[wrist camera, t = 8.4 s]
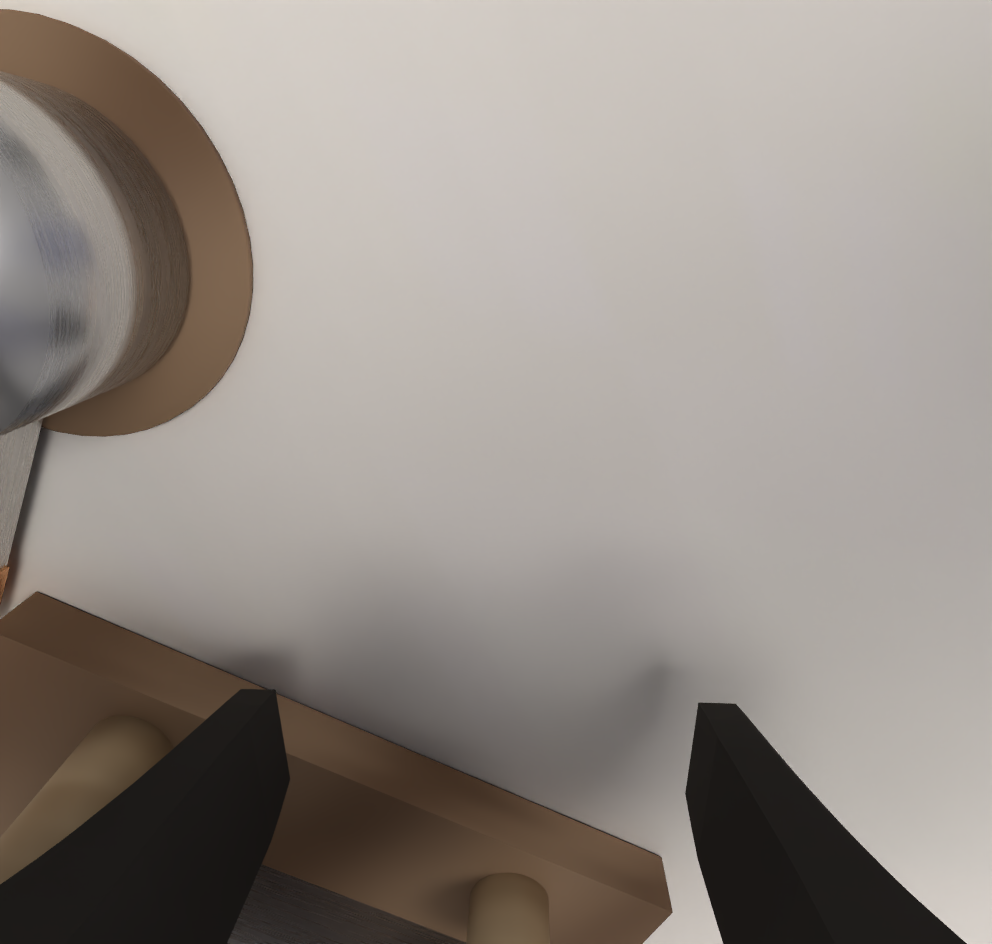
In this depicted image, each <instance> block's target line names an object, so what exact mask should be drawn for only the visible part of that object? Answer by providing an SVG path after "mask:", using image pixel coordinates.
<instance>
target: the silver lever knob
mask: <svg viewBox="0 0 992 944" xmlns="http://www.w3.org/2000/svg"><path fill="white" fill-rule="evenodd" d="M188 283H189V279H188V259H187V252H186V246H185V240H184V236H183V233H182V229H181V226H180V222H179V219H178V216H177V214H176V211H175V209H174V206H173V204H172V201H171V199H170V197H169V195H168V193H167V191H166V189H165V187H164V185H163V184H162V182H161V180H160V178H159V176H158V175H157V173H156V172H155V170H154V169H153V167H152V166H151V165H150V163H149V162H148V160H147V159H146V157H145V156H144V155H143V154H142V153H141V151H140V150H139V149H138V148H137V147H136V145H135V144H134V143H133V142H132V141H131V139H130V138H129V137H128V136H126V135H125V134H124V133H123V132H122V131H121V130H120V129H119V128H118V127H117V126H116V125H115V124H114V123H113V122H112V121H110V120H109V119H108V118H107V117H105V116H104V115H103V114H101V113H100V112H99V111H98V110H96V109H95V108H94V107H92V106H90V105H89V104H87V103H85V102H84V101H82V100H80V99H79V98H77V97H75V96H74V95H72V94H69V93H67V92H65V91H63V90H61V89H58V88H56V87H54V86H51V85H48V84H45V83H41V82H38V81H35V80H32V79H28V78H24V77H21V76H17V75H13V74H9V73H6V72H2V71H0V603H1V599H2V595H3V591H4V587H5V583H6V579H7V575H8V571H9V566H7V563H8V559H9V555H10V551H11V547H12V543H13V539H14V535H15V531H16V527H17V522H18V518H19V514H20V510H21V506H22V502H23V498H24V494H25V490H26V486H27V482H28V478H29V474H30V470H31V466H32V462H33V457H34V453H35V449H36V445H37V441H38V437H39V433H40V429H41V425H42V421H43V418H45V417H47V416H49V415H52V414H54V413H57V412H59V411H61V410H64V409H66V408H69V407H71V406H73V405H76V404H78V403H80V402H83V401H85V400H88V399H90V398H92V397H95V396H97V395H99V394H102V393H104V392H107V391H109V390H111V389H114V388H116V387H118V386H121V385H123V384H126V383H128V382H130V381H132V380H134V379H135V378H137V377H139V376H140V375H142V374H143V373H145V372H146V371H147V370H148V369H150V368H151V367H152V366H153V365H154V364H155V363H156V362H157V361H158V360H159V359H160V358H161V357H162V355H163V354H164V353H165V352H166V351H167V349H168V348H169V346H170V344H171V343H172V341H173V339H174V337H175V336H176V334H177V331H178V329H179V326H180V324H181V321H182V319H183V314H184V310H185V306H186V302H187V293H188Z"/></svg>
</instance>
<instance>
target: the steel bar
mask: <svg viewBox="0 0 992 944" xmlns="http://www.w3.org/2000/svg"><path fill="white" fill-rule="evenodd" d="M227 944H466V942H464V941H461V940H458V939H456V938H453V937H450V936H448V935H445V934H443V933H440V932H437V931H435V930H432V929H430V928H427V927H424V926H422V925H419V924H416V923H414V922H411V921H409V920H406V919H403V918H401V917H398V916H396V915H393V914H390V913H388V912H385V911H382V910H380V909H377V908H375V907H372V906H369V905H367V904H364V903H361V902H359V901H356V900H354V899H351V898H348V897H346V896H343V895H341V894H338V893H335V892H333V891H330V890H327V889H325V888H322V887H320V886H317V885H314V884H312V883H309V882H307V881H304V880H301V879H299V878H296V877H293V876H291V875H288V874H286V873H283V872H280V871H278V870H275V869H272V868H270V867H267V866H265V865H262V864H261V867H260V869H259V871H258V874H257V876H256V878H255V881H254V883H253V885H252V887H251V890H250V892H249V894H248V897H247V899H246V901H245V904H244V906H243V908H242V910H241V913H240V915H239V917H238V919H237V922H236V924H235V926H234V929H233V931H232V933H231V935H230V938H229V940H228V942H227Z"/></svg>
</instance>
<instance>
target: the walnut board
mask: <svg viewBox="0 0 992 944" xmlns="http://www.w3.org/2000/svg"><path fill="white" fill-rule="evenodd" d="M240 689H264V688H262V687H260V686H257V685H255V684H253V683H250V682H248V681H245V680H243V679H241V678H238V677H236V676H234V675H231V674H229V673H227V672H224V671H222V670H220V669H217V668H215V667H212V666H210V665H208V664H205V663H203V662H201V661H198V660H196V659H194V658H191V657H189V656H187V655H184V654H182V653H180V652H177V651H175V650H172V649H170V648H168V647H165V646H163V645H161V644H158V643H156V642H154V641H151V640H149V639H147V638H144V637H142V636H140V635H137V634H135V633H132V632H130V631H128V630H125V629H123V628H121V627H118V626H116V625H114V624H111V623H109V622H107V621H104V620H102V619H100V618H97V617H95V616H92V615H90V614H88V613H85V612H83V611H81V610H78V609H76V608H74V607H71V606H69V605H67V604H64V603H62V602H60V601H57V600H55V599H52V598H50V597H48V596H45V595H43V594H41V593H38V592H35V593H34V594H33V595H32V596H30V597H29V598H28V599H26V600H25V601H24V602H22V603H21V604H20V605H18V606H17V607H16V608H15V609H13V610H12V611H11V612H9V613H8V614H7V615H5V616H4V617H3V618H2V619H0V884H2V883H3V882H4V881H6V880H7V879H9V878H10V877H12V876H13V875H14V874H16V873H17V872H19V871H20V870H21V869H23V868H24V867H26V866H27V865H29V864H30V863H31V862H33V861H34V860H36V859H37V858H38V857H40V856H41V855H42V854H44V853H45V852H47V851H48V850H49V849H51V848H52V847H53V846H55V845H56V844H57V843H59V842H60V841H61V840H63V839H64V838H65V837H67V836H68V835H69V834H71V833H72V832H73V831H74V830H76V829H77V828H78V827H79V826H81V825H82V824H83V823H84V822H86V821H87V820H88V819H89V818H91V817H92V816H93V815H94V814H96V813H97V812H98V811H99V810H101V809H102V808H103V807H104V806H106V805H107V804H108V803H109V802H111V801H112V800H113V799H114V798H116V797H117V796H118V795H119V794H121V793H122V792H123V791H124V790H125V789H127V788H128V787H129V786H130V785H132V784H133V783H134V782H135V781H136V780H138V779H139V778H140V777H141V776H142V775H143V774H145V773H146V772H147V771H148V770H149V769H150V768H152V767H153V766H154V765H155V764H156V763H157V762H159V761H160V760H161V759H162V758H163V757H164V756H165V755H167V754H168V753H169V752H170V751H171V750H172V749H174V748H175V747H176V746H177V745H178V744H179V743H180V742H181V741H183V740H184V739H185V738H186V737H187V736H188V735H189V734H190V733H192V732H193V731H194V730H195V729H196V728H197V727H198V726H199V725H201V724H202V723H203V722H204V721H205V720H206V719H207V718H208V717H209V716H211V715H212V714H213V713H214V712H215V711H216V710H217V709H218V708H220V707H221V706H222V705H223V704H224V703H225V702H226V701H227V700H229V699H230V698H231V697H232V696H233V695H234V694H236V693H237V692H238V691H239V690H240ZM264 690H267V689H264ZM276 696H277V702H278V708H279V714H280V720H281V726H282V732H283V738H284V744H285V750H286V756H287V762H288V768H289V774H290V782H289V785H288V789H287V792H286V795H285V799H284V802H283V806H282V809H281V812H280V816H279V819H278V822H277V825H276V828H275V831H274V834H273V837H272V841H271V843H270V845H269V848H268V850H267V853H266V855H265V857H264V860H263V862H262V865H265V866H267V867H270V868H272V869H275V870H278V871H280V872H283V873H286V874H288V875H291V876H293V877H296V878H299V879H301V880H304V881H307V882H309V883H312V884H314V885H317V886H320V887H322V888H325V889H327V890H330V891H333V892H335V893H338V894H341V895H343V896H346V897H348V898H351V899H354V900H356V901H359V902H361V903H364V904H367V905H369V906H372V907H375V908H377V909H380V910H382V911H385V912H388V913H390V914H393V915H396V916H398V917H401V918H403V919H406V920H409V921H411V922H414V923H416V924H419V925H422V926H424V927H427V928H430V929H432V930H435V931H437V932H440V933H443V934H445V935H448V936H450V937H453V938H456V939H458V940H461V941H464V942H466V944H642V943H643V942H644V941H645V940H646V939H647V938H648V937H649V936H650V935H651V934H652V933H653V932H654V931H655V930H656V929H657V928H658V927H659V926H660V925H661V924H662V923H663V922H664V921H665V920H666V919H667V918H668V917H669V916H670V915H671V913H672V907H671V902H670V897H669V892H668V887H667V882H666V877H665V873H664V868H663V863H662V858H661V857H660V856H657V855H655V854H653V853H650V852H648V851H646V850H643V849H641V848H638V847H636V846H634V845H631V844H629V843H627V842H624V841H622V840H620V839H617V838H615V837H613V836H610V835H608V834H606V833H603V832H601V831H598V830H596V829H594V828H591V827H589V826H587V825H584V824H582V823H580V822H577V821H575V820H573V819H570V818H568V817H566V816H563V815H561V814H558V813H556V812H554V811H551V810H549V809H547V808H544V807H542V806H540V805H537V804H535V803H533V802H530V801H528V800H526V799H523V798H521V797H518V796H516V795H514V794H511V793H509V792H507V791H504V790H502V789H500V788H497V787H495V786H493V785H490V784H488V783H486V782H483V781H481V780H478V779H476V778H474V777H471V776H469V775H467V774H464V773H462V772H460V771H457V770H455V769H453V768H450V767H448V766H446V765H443V764H441V763H438V762H436V761H434V760H431V759H429V758H427V757H424V756H422V755H420V754H417V753H415V752H413V751H410V750H408V749H405V748H403V747H401V746H398V745H396V744H394V743H391V742H389V741H387V740H384V739H382V738H380V737H377V736H375V735H373V734H370V733H368V732H365V731H363V730H361V729H358V728H356V727H354V726H351V725H349V724H347V723H344V722H342V721H340V720H337V719H335V718H333V717H330V716H328V715H325V714H323V713H321V712H318V711H316V710H314V709H311V708H309V707H307V706H304V705H302V704H300V703H297V702H295V701H293V700H290V699H288V698H285V697H283V696H281V695H278V694H276Z"/></svg>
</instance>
